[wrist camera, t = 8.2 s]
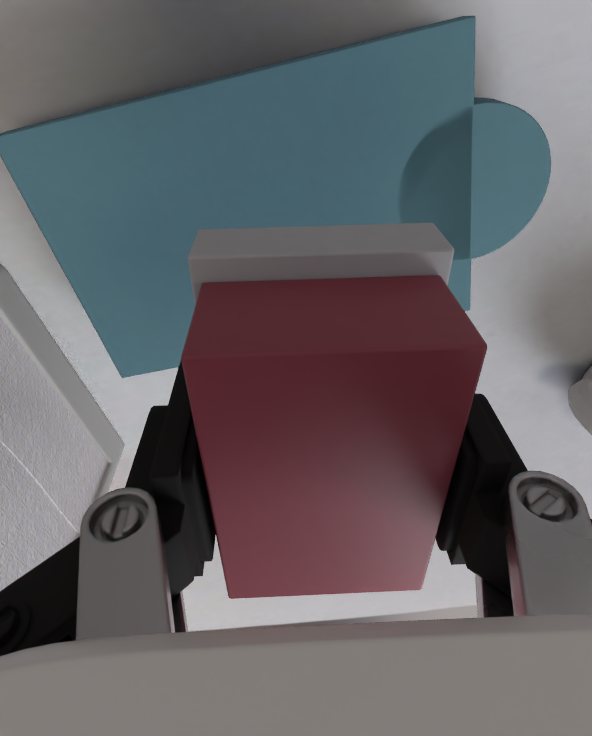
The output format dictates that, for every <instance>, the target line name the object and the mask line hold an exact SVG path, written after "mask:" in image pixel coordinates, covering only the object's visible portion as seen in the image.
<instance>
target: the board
mask: <svg viewBox="0 0 592 736" xmlns="http://www.w3.org/2000/svg"><path fill="white" fill-rule="evenodd" d="M474 66H475V16H462V17H458V18H454V19H450V20H446V21H442V22H438V23H434V24H430V25H426V26H422V27H418V28H414V29H410V30H406V31H402V32H398V33H394V34H390V35H386V36H382V37H378V38H374V39H370V40H366V41H362V42H359V43H355V44H351V45H347V46H343V47H339V48H335V49H331V50H327V51H323V52H319V53H315V54H311V55H307V56H303V57H299V58H295V59H291V60H287V61H283V62H279V63H275V64H271V65H267V66H263V67H260V68H256V69H252V70H248V71H244V72H240V73H236V74H232V75H228V76H224V77H220V78H216V79H212V80H208V81H204V82H200V83H196V84H192V85H188V86H184V87H180V88H176V89H172V90H168V91H164V92H161V93H157V94H153V95H149V96H145V97H141V98H137V99H133V100H129V101H125V102H121V103H117V104H113V105H109V106H105V107H101V108H97V109H93V110H89V111H85V112H81V113H77V114H73V115H69V116H65V117H61V118H58V119H54V120H50V121H46V122H42V123H38V124H34V125H30V126H26V127H22V128H18V129H14V130H10V131H6V132H4V133H1V134H0V156H1V158H2V160H3V162H4V164H5V165H6V167H7V169H8V171H9V173H10V174H11V176H12V178H13V180H14V182H15V184H16V185H17V187H18V189H19V191H20V193H21V195H22V196H23V198H24V200H25V202H26V204H27V206H28V207H29V209H30V211H31V213H32V215H33V216H34V218H35V220H36V222H37V224H38V226H39V227H40V229H41V231H42V233H43V235H44V237H45V238H46V240H47V242H48V244H49V246H50V247H51V249H52V251H53V253H54V255H55V257H56V258H57V260H58V262H59V264H60V266H61V268H62V269H63V271H64V273H65V275H66V277H67V279H68V280H69V282H70V284H71V286H72V288H73V289H74V291H75V293H76V295H77V297H78V299H79V300H80V302H81V304H82V306H83V308H84V310H85V311H86V313H87V315H88V317H89V319H90V320H91V322H92V324H93V326H94V328H95V330H96V331H97V333H98V335H99V337H100V339H101V341H102V342H103V344H104V346H105V348H106V350H107V351H108V353H109V355H110V357H111V359H112V361H113V362H114V364H115V366H116V368H117V370H118V372H119V373H120V375H121V377H122V378H125V377H130V376H135V375H140V374H145V373H150V372H155V371H160V370H165V369H170V368H176V367H179V365H180V361H181V356H182V352H183V348H184V345H185V341H186V338H187V334H188V331H189V327H190V324H191V320H192V316H193V313H194V309H195V302H194V296H193V290H192V284H191V277H190V271H189V265H188V256H189V253H190V250H191V248H192V245H193V242H194V239H195V237H196V234H197V231H198V230H200V229H233V228H266V227H300V226H333V225H367V224H401V223H434V225H435V226H436V227H437V228H438V229H439V231H440V232H441V233H442V234H443V236H444V237H445V238H446V239H447V240H448V242H449V243H450V244H451V245H452V247H453V248H454V255H453V260H452V265H451V270H450V276H449V281H448V287H449V289H450V290H451V292H452V293H453V295H454V296H455V298H456V299H457V301H458V302H459V304H460V305H461V307H462V308H463V310H464V311H467V310H470V287H471V259H472V258H476V257H480V256H483V255H485V254H488V253H490V252H492V251H494V250H496V249H498V248H500V247H501V246H503V245H504V244H506V243H507V242H509V241H510V240H511V239H513V238H514V237H515V236H516V235H517V234H518V233H519V232H520V231H521V230H522V229H523V228H524V227H525V226H526V225H527V224H528V222H529V221H530V220H531V218H532V217H533V216H534V214H535V213H536V211H537V209H538V208H539V206H540V204H541V202H542V200H543V197H544V195H545V193H546V189H547V186H548V183H549V177H550V171H551V156H550V149H549V145H548V141H547V138H546V136H545V134H544V132H543V130H542V128H541V127H540V125H539V124H538V123H537V121H536V120H535V119H534V118H533V117H532V116H531V115H529V114H528V113H527V112H525V111H524V110H522V109H520V108H518V107H516V106H513V105H510V104H507V103H504V102H501V101H498V100H495V99H489V98H474Z"/></svg>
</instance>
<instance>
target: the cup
mask: <svg viewBox="0 0 592 736" xmlns="http://www.w3.org/2000/svg"><path fill="white" fill-rule="evenodd" d="M568 401H569V406H570V408H571V410H572V412H573V414H574V415H575V417H576V418H577V419H578V421H579V422H580V423H581V424H582V426H583V427H584V428H585V429H586V430H587V431H588V432H589V433H590V434H591V435H592V365H591V367H590V368H589V369H588V370H587V371H586V373H585V374H584V376H583V378H582V380H580V381H578V382H577V383H575V384H573V385H572V386H571V388H570V389H569V393H568Z"/></svg>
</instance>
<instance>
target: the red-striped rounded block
mask: <svg viewBox="0 0 592 736" xmlns="http://www.w3.org/2000/svg"><path fill="white" fill-rule="evenodd" d="M123 448H124V443H123V441H122V440H121V439H120V437H119V436H118V434H117V433H116V431H115V430H114V428H113V427H112V425H111V424H110V422H109V421H108V419H107V418H106V416H105V415H104V413H103V412H102V410H101V409H100V407H99V406H98V405H97V403H96V402H95V400H94V399H93V397H92V396H91V394H90V393H89V391H88V390H87V388H86V387H85V385H84V384H83V382H82V381H81V379H80V378H79V376H78V375H77V373H76V372H75V371H74V369H73V368H72V366H71V365H70V363H69V362H68V360H67V359H66V357H65V356H64V354H63V353H62V351H61V350H60V348H59V347H58V345H57V344H56V342H55V341H54V339H53V338H52V337H51V335H50V334H49V332H48V331H47V329H46V328H45V326H44V325H43V323H42V322H41V320H40V319H39V317H38V316H37V314H36V313H35V311H34V310H33V308H32V307H31V306H30V304H29V303H28V301H27V300H26V298H25V297H24V295H23V294H22V292H21V291H20V289H19V288H18V286H17V285H16V283H15V282H14V280H13V279H12V277H11V276H10V274H9V273H8V272H7V270H6V269H5V268H4V267H3V266H1V265H0V591H1V590H3V589H4V588H6V587H7V586H8V585H10V584H11V583H13V582H14V581H16V580H17V579H19V578H20V577H21V576H23V575H24V574H26V573H27V572H29V571H30V570H32V569H33V568H35V567H36V566H37V565H39V564H40V563H42V562H43V561H45V560H46V559H48V558H49V557H51V556H52V555H53V554H55V553H56V552H58V551H59V550H61V549H62V548H64V547H65V546H66V545H68V544H69V543H71V542H72V541H74V540H75V539H77V538H78V537H80V527H81V522H82V518H83V516H84V514H85V513H86V511H87V509H88V508H89V507H90V506H91V505H92V504H93V503H94V502H95V501H96V500H97V499H98V498H100V497H101V496H103V495H105V494H106V493H108V490H109V487H110V484H111V482H112V479H113V476H114V473H115V470H116V468H117V465H118V462H119V459H120V456H121V453H122V451H123Z"/></svg>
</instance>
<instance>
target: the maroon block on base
mask: <svg viewBox="0 0 592 736" xmlns="http://www.w3.org/2000/svg"><path fill="white" fill-rule="evenodd" d="M453 255H454V248H453V247H452V245H451V244H450V243H449V242H448V240H447V239H446V238H445V237H444V236H443V234H442V233H441V232H440V231H439V229H438V228H437V227H436V226H435V225H434V223H401V224H367V225H333V226H300V227H266V228H233V229H200V230H198V231H197V234H196V237H195V239H194V242H193V245H192V248H191V250H190V253H189V256H188V265H189V271H190V277H191V284H192V290H193V296H194V302H195V309H194V313H193V316H192V320H191V324H190V327H189V331H188V334H187V338H186V341H185V345H184V348H183V352H182V356H181V361H182V366H183V371H184V376H185V381H186V386H187V391H188V396H189V401H190V406H191V411H192V416H193V421H194V426H195V431H196V436H197V441H198V446H199V451H200V456H201V461H202V466H203V471H204V476H205V481H206V486H207V491H208V496H209V501H210V506H211V511H212V516H213V521H214V526H215V531H216V536H217V541H218V546H219V551H220V556H221V561H222V566H223V571H224V576H225V581H226V586H227V591H228V596H229V598H231V599H233V598H255V597H276V596H298V595H319V594H341V593H362V592H384V591H405V590H420V589H422V585H423V581H424V578H425V574H426V570H427V567H428V563H429V559H430V556H431V552H432V548H433V545H434V541H435V537H436V534H437V530H438V526H439V523H440V519H441V515H442V512H443V508H444V504H445V501H446V497H447V493H448V490H449V486H450V482H451V479H452V475H453V471H454V468H455V464H456V460H457V457H458V453H459V449H460V446H461V442H462V438H463V435H464V431H465V427H466V424H467V420H468V416H469V413H470V409H471V405H472V402H473V398H474V394H475V391H476V387H477V383H478V380H479V376H480V372H481V369H482V365H483V361H484V358H485V354H486V350H487V344H486V343H485V341H484V340H483V338H482V337H481V335H480V334H479V332H478V331H477V329H476V328H475V326H474V325H473V323H472V322H471V320H470V319H469V317H468V316H467V314H466V313H465V311H464V310H463V308H462V307H461V305H460V304H459V302H458V301H457V299H456V298H455V296H454V295H453V293H452V292H451V290H450V289H449V287H448V281H449V276H450V270H451V265H452V260H453Z"/></svg>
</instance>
